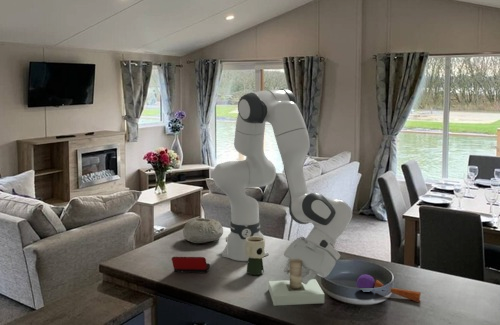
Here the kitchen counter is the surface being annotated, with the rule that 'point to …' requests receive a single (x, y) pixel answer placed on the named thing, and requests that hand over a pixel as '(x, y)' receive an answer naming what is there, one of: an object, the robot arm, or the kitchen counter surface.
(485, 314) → the kitchen counter surface
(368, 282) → the purple and orange maraca
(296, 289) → the beech peg
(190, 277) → the kitchen counter surface
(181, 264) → the handheld game console
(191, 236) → the decorative shell
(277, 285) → the sage board
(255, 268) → the character mug
